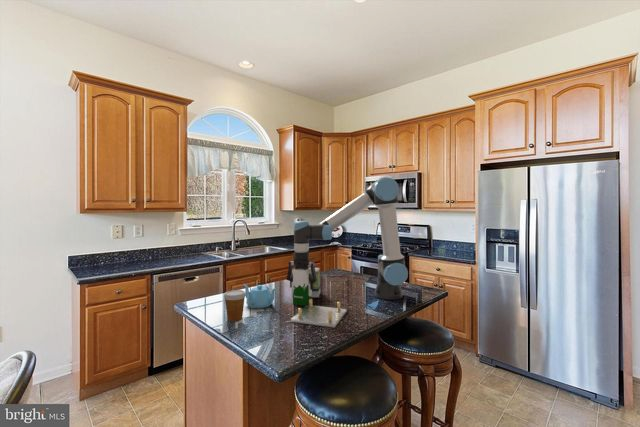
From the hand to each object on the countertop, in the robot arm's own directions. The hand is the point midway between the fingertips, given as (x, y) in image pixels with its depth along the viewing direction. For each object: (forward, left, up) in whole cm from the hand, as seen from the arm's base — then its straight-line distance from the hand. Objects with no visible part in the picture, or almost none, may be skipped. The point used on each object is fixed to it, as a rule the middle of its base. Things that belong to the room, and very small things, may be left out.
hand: (301, 294), depth 164 cm
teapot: (+19, +11, -5) cm, 22 cm away
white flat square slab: (-15, +15, -4) cm, 22 cm away
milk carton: (0, 0, -5) cm, 5 cm away
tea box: (+3, -14, -5) cm, 15 cm away
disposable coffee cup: (+20, +30, -5) cm, 36 cm away
